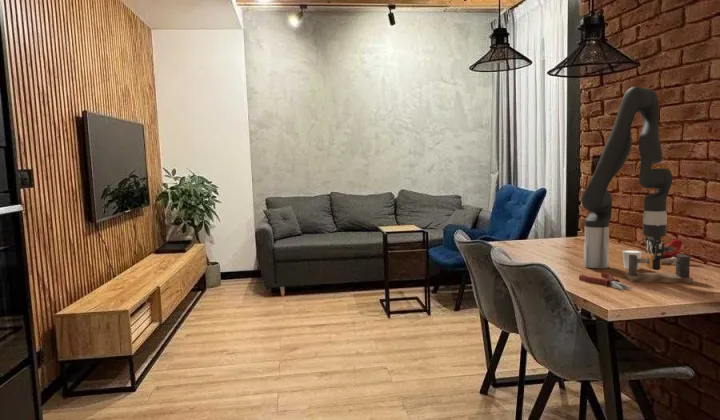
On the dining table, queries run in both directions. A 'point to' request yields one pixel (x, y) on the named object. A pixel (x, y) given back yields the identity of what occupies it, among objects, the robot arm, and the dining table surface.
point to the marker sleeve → (651, 261)
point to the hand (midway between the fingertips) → (653, 267)
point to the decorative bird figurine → (671, 248)
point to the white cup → (626, 257)
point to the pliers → (604, 281)
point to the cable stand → (680, 275)
